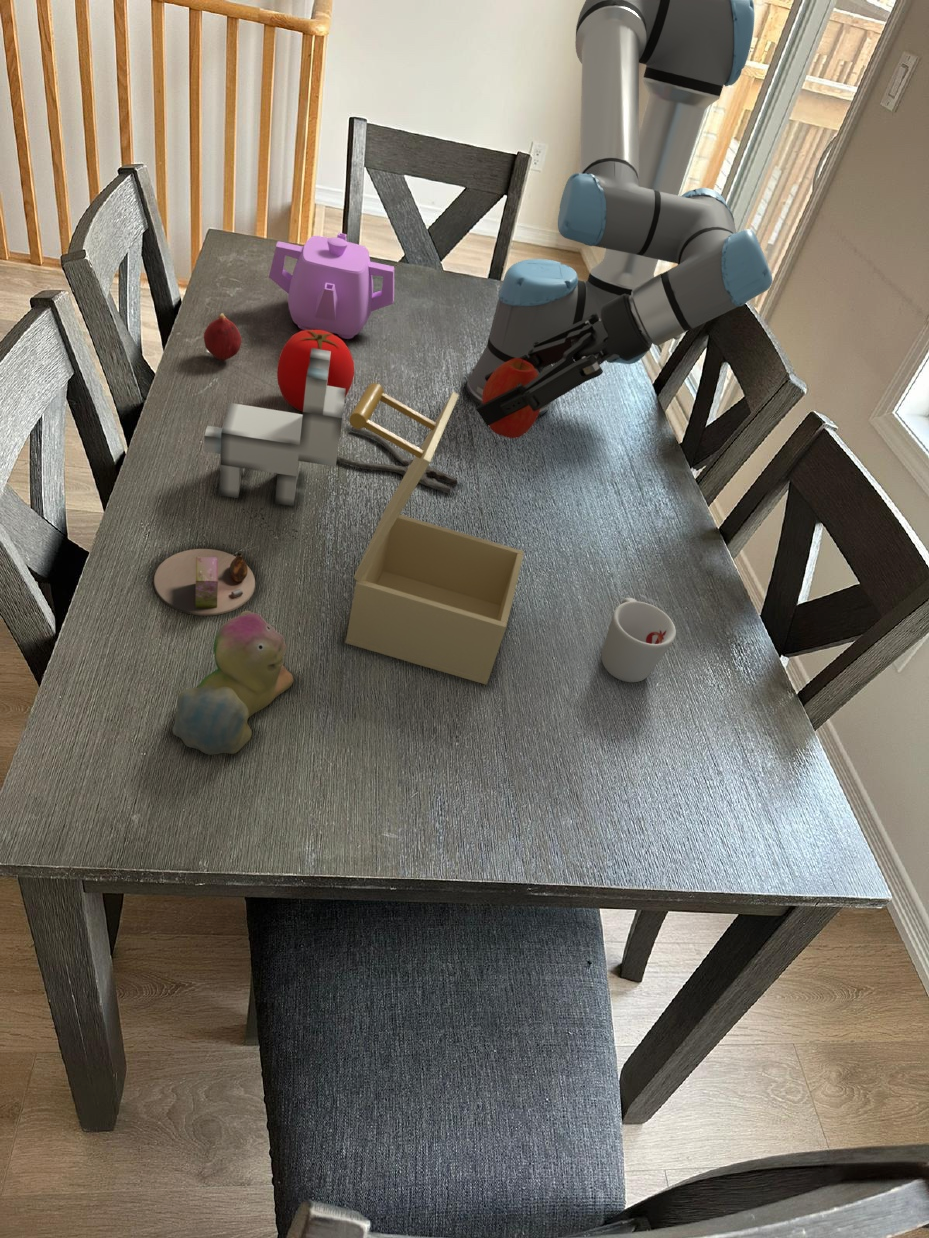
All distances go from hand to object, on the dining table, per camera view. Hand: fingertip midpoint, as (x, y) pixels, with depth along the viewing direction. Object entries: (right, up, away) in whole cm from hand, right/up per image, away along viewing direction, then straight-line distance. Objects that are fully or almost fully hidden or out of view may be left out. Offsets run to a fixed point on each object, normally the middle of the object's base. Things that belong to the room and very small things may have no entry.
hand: (486, 400), depth 120 cm
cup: (+17, -35, -5) cm, 39 cm away
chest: (-7, -30, -8) cm, 32 cm away
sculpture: (-28, -39, -24) cm, 54 cm away
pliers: (-13, -5, +16) cm, 22 cm away
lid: (-9, -15, -21) cm, 27 cm away
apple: (+2, -4, +3) cm, 5 cm away
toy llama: (-30, -11, +5) cm, 33 cm away
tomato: (-27, +5, +23) cm, 36 cm away
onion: (-43, +13, +27) cm, 52 cm away
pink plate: (-35, -25, -11) cm, 44 cm away
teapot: (-28, +25, +44) cm, 58 cm away
